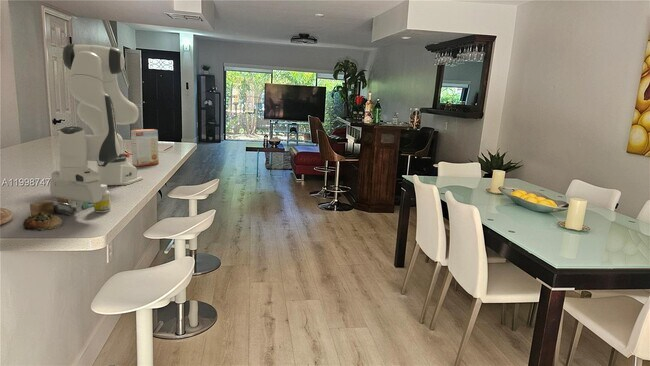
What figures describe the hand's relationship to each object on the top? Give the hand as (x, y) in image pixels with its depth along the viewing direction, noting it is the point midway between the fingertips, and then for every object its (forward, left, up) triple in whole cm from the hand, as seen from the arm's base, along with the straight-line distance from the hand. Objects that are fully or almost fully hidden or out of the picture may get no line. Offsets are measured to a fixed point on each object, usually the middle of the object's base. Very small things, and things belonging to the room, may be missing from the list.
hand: (76, 211), depth 151 cm
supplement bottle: (-9, +3, -2) cm, 9 cm away
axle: (0, -8, -2) cm, 8 cm away
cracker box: (-92, -50, -2) cm, 104 cm away
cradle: (-12, -10, -2) cm, 15 cm away
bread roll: (+13, 0, -2) cm, 13 cm away
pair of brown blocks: (0, -10, -2) cm, 10 cm away
